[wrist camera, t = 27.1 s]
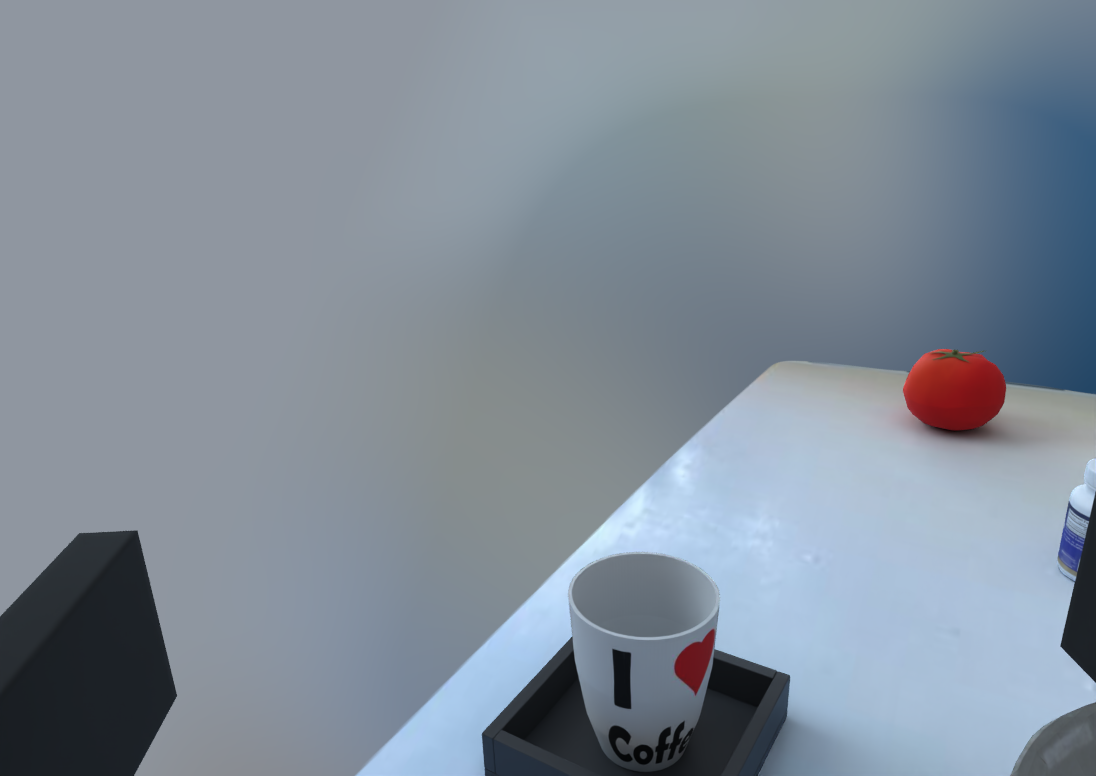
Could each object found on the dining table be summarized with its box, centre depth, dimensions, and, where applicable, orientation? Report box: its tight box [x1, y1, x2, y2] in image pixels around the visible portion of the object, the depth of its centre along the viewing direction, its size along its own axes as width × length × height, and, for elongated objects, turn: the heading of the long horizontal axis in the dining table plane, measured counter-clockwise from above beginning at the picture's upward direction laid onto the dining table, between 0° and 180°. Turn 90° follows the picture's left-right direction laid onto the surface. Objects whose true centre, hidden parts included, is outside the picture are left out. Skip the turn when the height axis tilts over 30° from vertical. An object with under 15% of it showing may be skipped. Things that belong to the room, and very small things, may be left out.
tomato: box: [903, 349, 1006, 431], centre depth 88 cm, size 9×10×8 cm
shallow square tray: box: [482, 637, 790, 776], centre depth 48 cm, size 13×13×3 cm
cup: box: [568, 552, 720, 772], centre depth 46 cm, size 8×8×10 cm
